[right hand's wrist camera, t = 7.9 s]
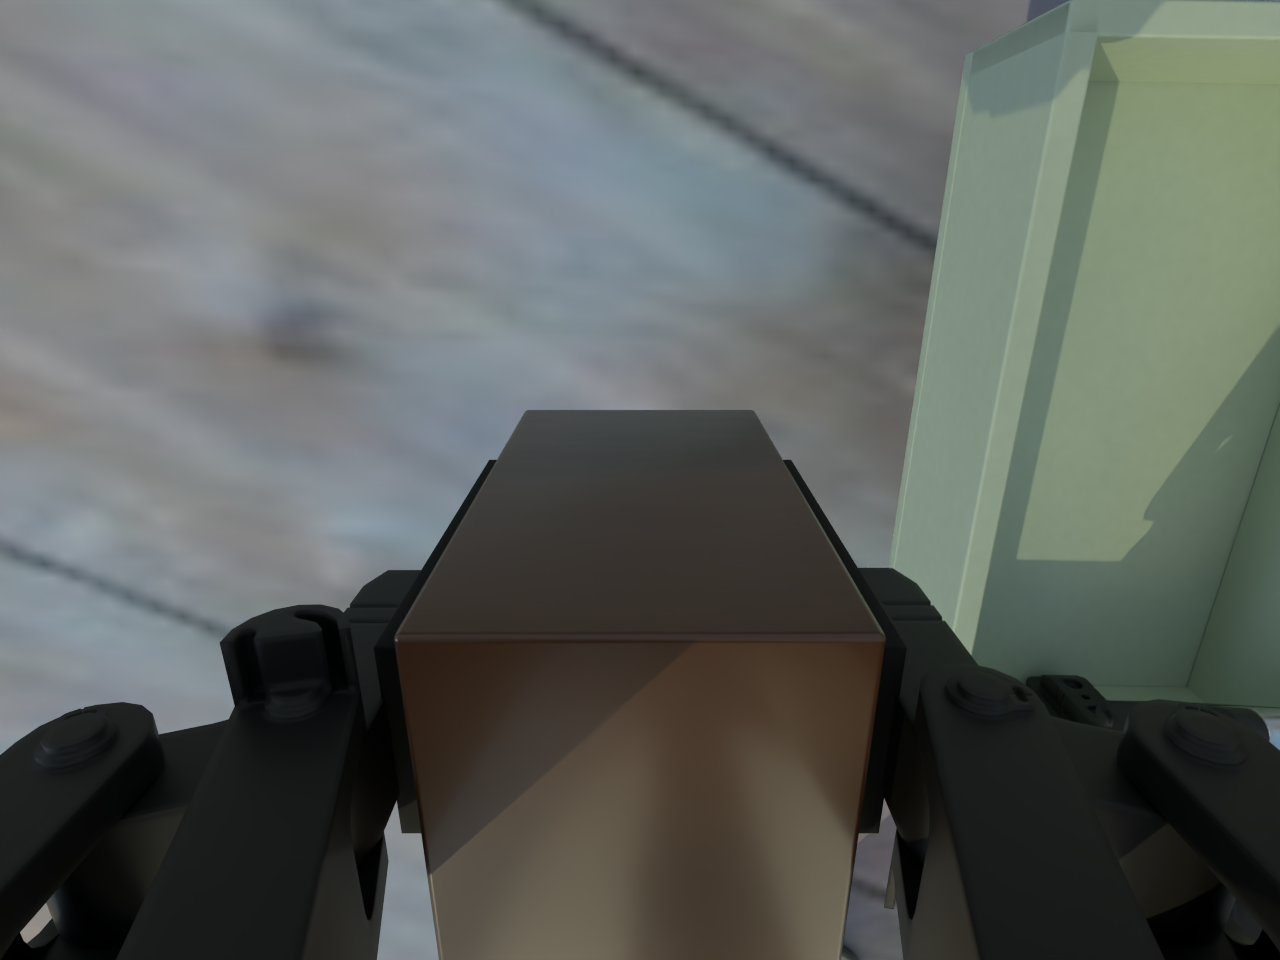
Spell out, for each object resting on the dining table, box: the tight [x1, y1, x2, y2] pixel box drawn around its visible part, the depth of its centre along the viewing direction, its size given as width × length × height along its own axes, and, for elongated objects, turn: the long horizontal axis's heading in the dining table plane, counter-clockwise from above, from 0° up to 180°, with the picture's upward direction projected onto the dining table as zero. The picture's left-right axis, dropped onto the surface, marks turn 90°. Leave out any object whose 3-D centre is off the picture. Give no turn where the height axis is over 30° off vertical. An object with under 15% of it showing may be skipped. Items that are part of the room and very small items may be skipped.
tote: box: [888, 0, 1280, 707], centre depth 23 cm, size 24×14×6 cm, turn 179°
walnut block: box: [394, 410, 886, 960], centre depth 11 cm, size 4×4×8 cm
